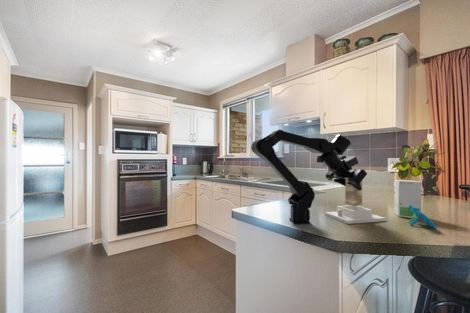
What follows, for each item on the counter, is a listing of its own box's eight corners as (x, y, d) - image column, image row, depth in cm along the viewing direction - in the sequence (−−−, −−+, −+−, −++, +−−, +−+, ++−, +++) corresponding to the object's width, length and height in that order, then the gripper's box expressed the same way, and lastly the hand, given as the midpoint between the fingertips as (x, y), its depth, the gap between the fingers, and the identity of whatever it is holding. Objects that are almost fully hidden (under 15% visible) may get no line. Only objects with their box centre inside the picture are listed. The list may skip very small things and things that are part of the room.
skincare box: (398, 217, 97) (398, 180, 97) (393, 213, 103) (393, 179, 103) (422, 219, 94) (422, 181, 94) (416, 215, 100) (416, 180, 100)
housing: (347, 223, 87) (347, 213, 87) (324, 214, 100) (324, 205, 100) (385, 221, 91) (385, 210, 91) (359, 212, 105) (359, 203, 105)
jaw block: (352, 205, 93) (353, 176, 93) (345, 203, 97) (345, 175, 97) (362, 205, 94) (362, 176, 94) (354, 203, 98) (354, 175, 98)
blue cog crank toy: (442, 227, 77) (415, 204, 81) (427, 238, 79) (402, 215, 82) (430, 223, 87) (407, 203, 91) (417, 233, 88) (395, 212, 92)
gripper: (363, 148, 86) (386, 177, 88) (331, 150, 104) (351, 173, 106) (345, 169, 84) (369, 198, 86) (316, 167, 102) (337, 191, 105)
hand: (356, 188), depth 96 cm, fingers closed on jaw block, 4 cm apart
